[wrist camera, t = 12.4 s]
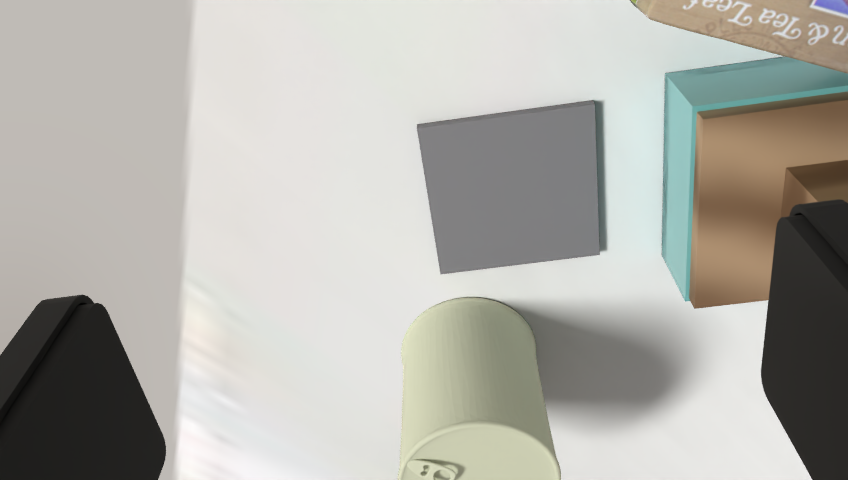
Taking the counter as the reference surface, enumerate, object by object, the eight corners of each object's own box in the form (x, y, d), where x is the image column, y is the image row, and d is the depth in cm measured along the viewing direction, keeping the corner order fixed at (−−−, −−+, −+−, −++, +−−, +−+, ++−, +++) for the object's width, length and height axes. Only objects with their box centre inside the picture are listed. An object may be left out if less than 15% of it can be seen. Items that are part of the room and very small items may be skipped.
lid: (696, 111, 38) (739, 163, 33) (936, 79, 37) (1018, 127, 32) (689, 298, 44) (724, 366, 39) (895, 273, 43) (960, 340, 38)
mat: (417, 124, 44) (417, 128, 43) (592, 100, 43) (594, 104, 42) (440, 268, 49) (440, 274, 48) (597, 249, 48) (599, 254, 47)
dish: (665, 73, 42) (692, 106, 38) (889, 42, 41) (943, 72, 37) (661, 255, 48) (685, 301, 44) (857, 231, 47) (900, 276, 43)
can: (431, 278, 49) (433, 410, 39) (559, 321, 51) (593, 457, 41) (382, 379, 54) (372, 522, 43) (501, 415, 55) (519, 560, 45)
